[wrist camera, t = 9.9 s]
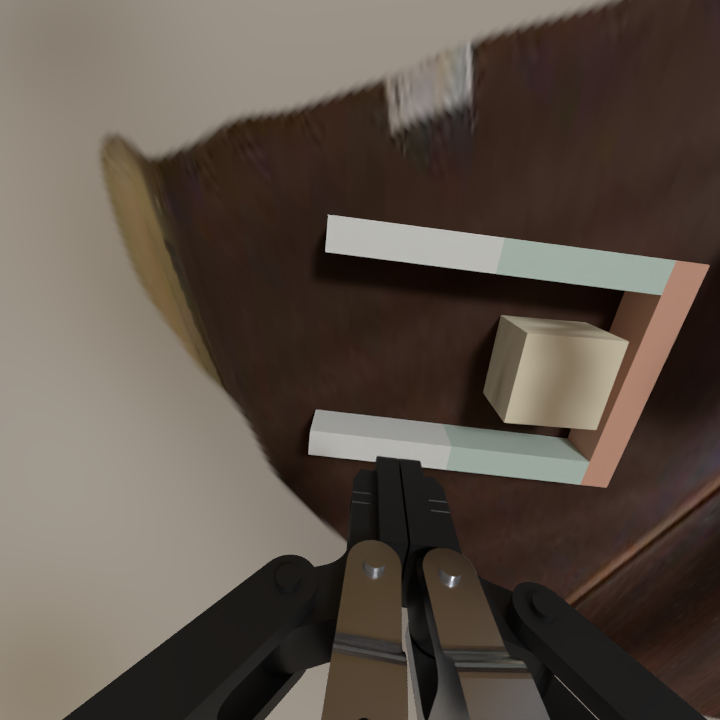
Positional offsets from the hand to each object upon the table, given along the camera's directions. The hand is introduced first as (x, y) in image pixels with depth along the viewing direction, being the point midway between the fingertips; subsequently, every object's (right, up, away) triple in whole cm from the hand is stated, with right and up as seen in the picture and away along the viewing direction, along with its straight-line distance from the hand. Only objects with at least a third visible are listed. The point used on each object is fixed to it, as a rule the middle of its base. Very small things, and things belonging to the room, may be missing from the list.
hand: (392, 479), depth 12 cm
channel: (+6, +5, +13) cm, 15 cm away
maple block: (+11, +4, +14) cm, 18 cm away
